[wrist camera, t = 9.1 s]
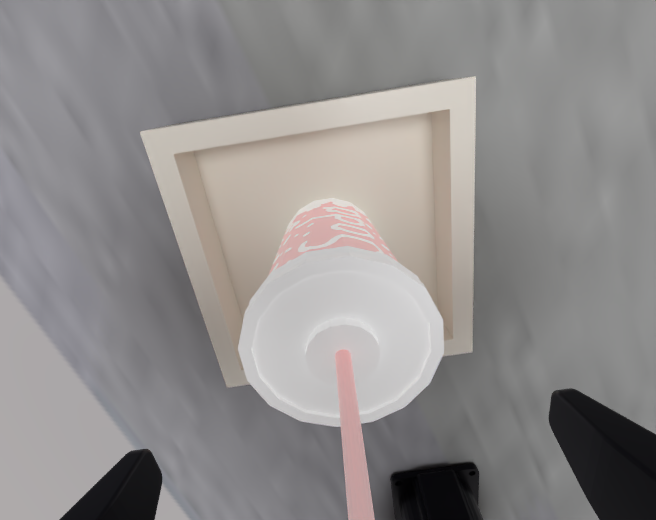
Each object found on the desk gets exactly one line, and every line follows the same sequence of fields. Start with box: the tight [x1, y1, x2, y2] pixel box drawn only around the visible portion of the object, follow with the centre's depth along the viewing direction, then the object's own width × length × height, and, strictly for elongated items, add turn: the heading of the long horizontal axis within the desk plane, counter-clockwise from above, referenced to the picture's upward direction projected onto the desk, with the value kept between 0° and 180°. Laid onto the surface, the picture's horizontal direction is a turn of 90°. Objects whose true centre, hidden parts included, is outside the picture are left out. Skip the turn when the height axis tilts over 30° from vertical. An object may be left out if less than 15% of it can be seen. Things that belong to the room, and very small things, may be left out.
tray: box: [140, 76, 476, 388], centre depth 18 cm, size 13×13×4 cm
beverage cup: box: [238, 198, 444, 520], centre depth 13 cm, size 6×6×14 cm
